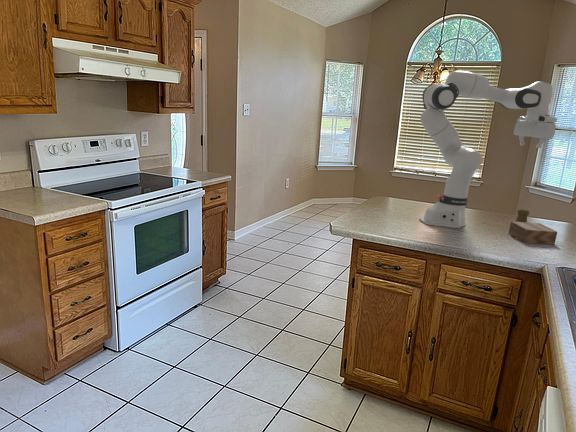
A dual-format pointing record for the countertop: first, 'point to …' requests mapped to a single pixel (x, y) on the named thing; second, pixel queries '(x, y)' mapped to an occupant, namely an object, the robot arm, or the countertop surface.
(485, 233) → the countertop surface
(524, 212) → the cork
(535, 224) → the walnut block
